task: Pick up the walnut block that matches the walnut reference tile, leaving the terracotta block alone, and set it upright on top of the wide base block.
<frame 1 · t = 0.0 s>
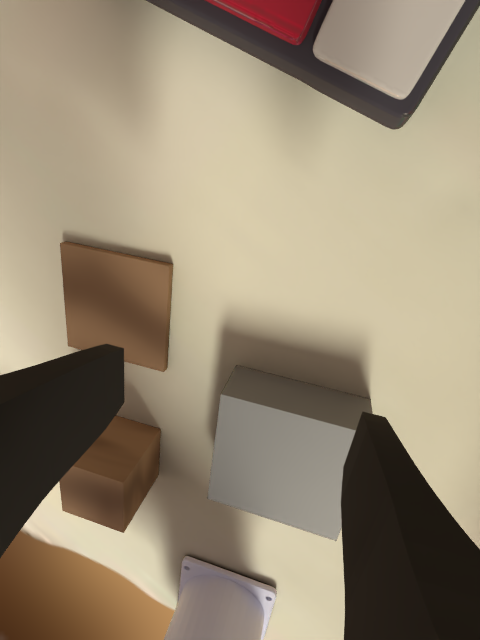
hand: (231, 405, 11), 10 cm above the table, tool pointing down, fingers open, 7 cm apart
base block: (289, 430, 23), on the table
reference tile: (118, 307, 23), on the table
walnut block: (132, 443, 27), on the table
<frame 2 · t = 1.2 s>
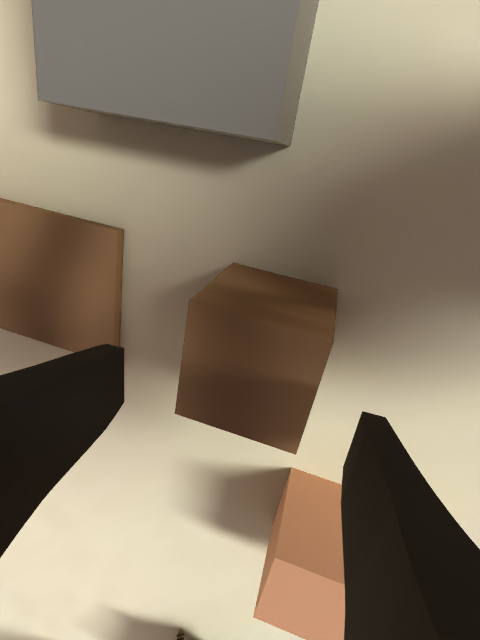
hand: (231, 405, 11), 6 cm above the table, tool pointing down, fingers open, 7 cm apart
terracotta block: (322, 510, 20), on the table
base block: (203, 1, 13), on the table
reference tile: (59, 282, 18), on the table
walnut block: (272, 322, 16), on the table
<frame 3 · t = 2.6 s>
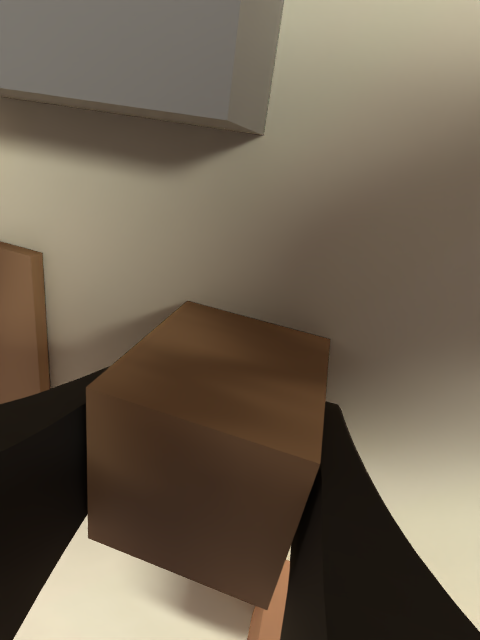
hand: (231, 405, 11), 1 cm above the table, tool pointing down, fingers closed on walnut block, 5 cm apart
terracotta block: (313, 605, 15), on the table
walnut block: (243, 380, 12), on the table, touching gripper
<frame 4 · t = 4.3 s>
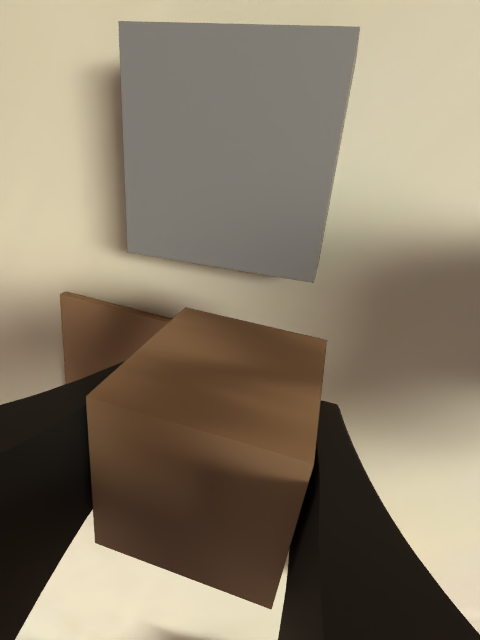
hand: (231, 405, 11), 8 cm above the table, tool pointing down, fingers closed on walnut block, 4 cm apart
base block: (245, 161, 16), on the table
reference tile: (119, 358, 22), on the table
walnut block: (243, 383, 12), point 7 cm above the table, touching gripper
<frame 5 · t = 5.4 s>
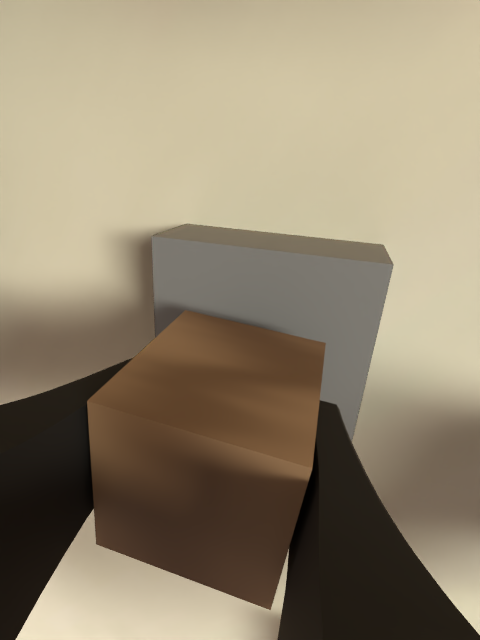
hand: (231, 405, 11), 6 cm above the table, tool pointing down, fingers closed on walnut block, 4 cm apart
base block: (271, 321, 16), on the table
walnut block: (243, 385, 12), point 5 cm above the table, touching gripper
when the fingers open (6 cm above the table, at t = 5.9 s): walnut block drops 2 cm, resting on base block.
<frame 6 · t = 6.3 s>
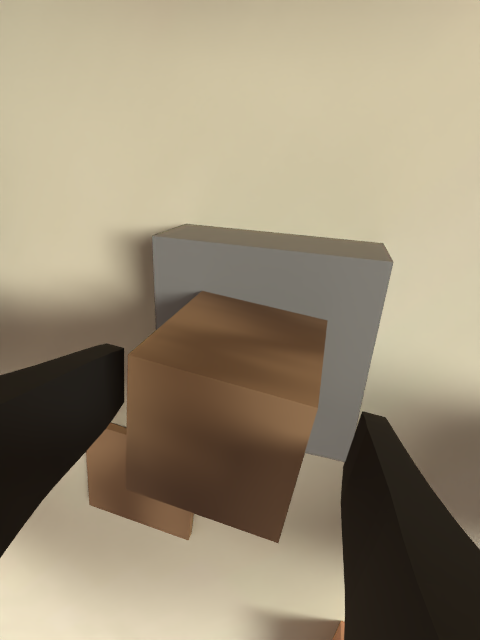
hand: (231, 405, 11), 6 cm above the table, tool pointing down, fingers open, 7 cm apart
base block: (272, 320, 17), on the table, touching walnut block
reference tile: (142, 477, 22), on the table
walnut block: (252, 360, 14), point 3 cm above the table, touching base block
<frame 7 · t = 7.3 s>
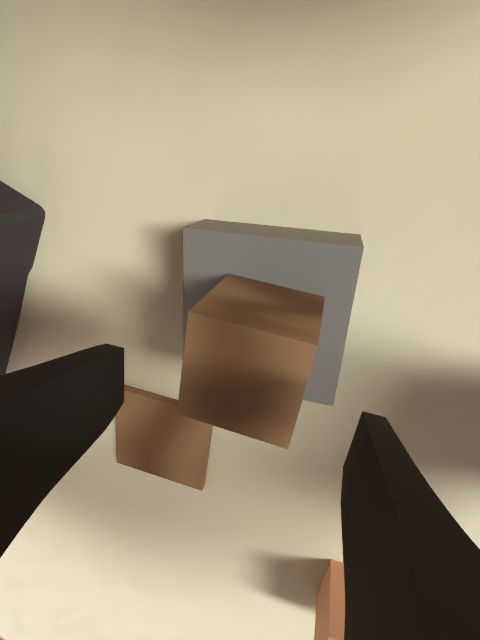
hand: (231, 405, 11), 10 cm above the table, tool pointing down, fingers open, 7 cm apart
terracotta block: (353, 587, 27), on the table
base block: (273, 297, 21), on the table, touching walnut block
reference tile: (163, 436, 26), on the table
walnut block: (266, 328, 17), point 3 cm above the table, touching base block
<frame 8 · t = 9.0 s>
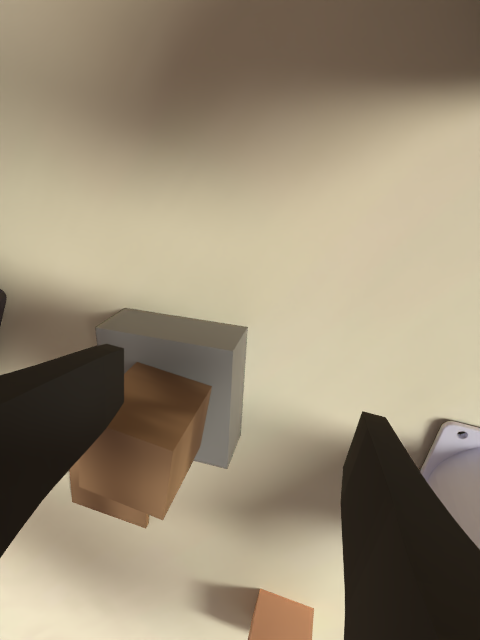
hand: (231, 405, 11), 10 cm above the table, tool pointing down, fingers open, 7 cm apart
terracotta block: (281, 613, 31), on the table
base block: (186, 370, 24), on the table, touching walnut block
reference tile: (110, 480, 30), on the table
walnut block: (169, 405, 21), point 3 cm above the table, touching base block
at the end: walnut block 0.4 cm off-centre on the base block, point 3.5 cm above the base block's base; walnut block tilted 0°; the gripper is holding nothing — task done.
